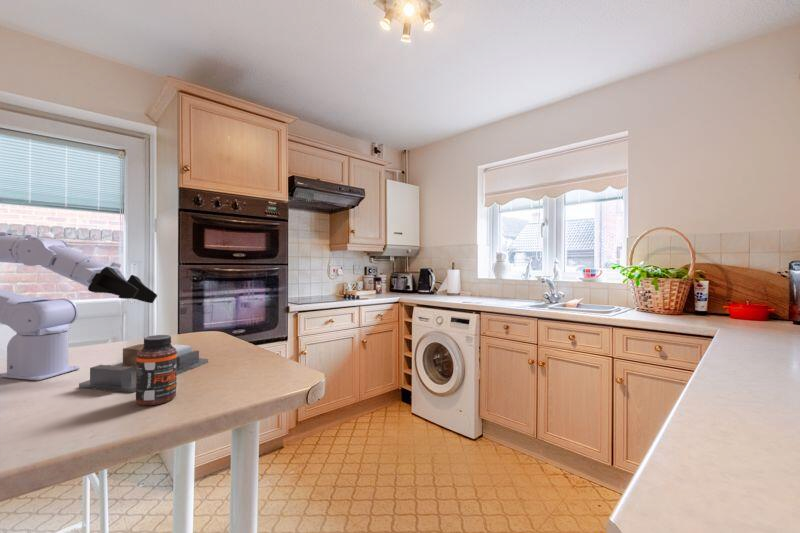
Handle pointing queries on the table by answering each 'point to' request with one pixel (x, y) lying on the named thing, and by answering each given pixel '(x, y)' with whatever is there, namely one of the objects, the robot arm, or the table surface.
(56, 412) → the table surface
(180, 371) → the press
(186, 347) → the ram
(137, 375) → the supplement bottle
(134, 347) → the block
